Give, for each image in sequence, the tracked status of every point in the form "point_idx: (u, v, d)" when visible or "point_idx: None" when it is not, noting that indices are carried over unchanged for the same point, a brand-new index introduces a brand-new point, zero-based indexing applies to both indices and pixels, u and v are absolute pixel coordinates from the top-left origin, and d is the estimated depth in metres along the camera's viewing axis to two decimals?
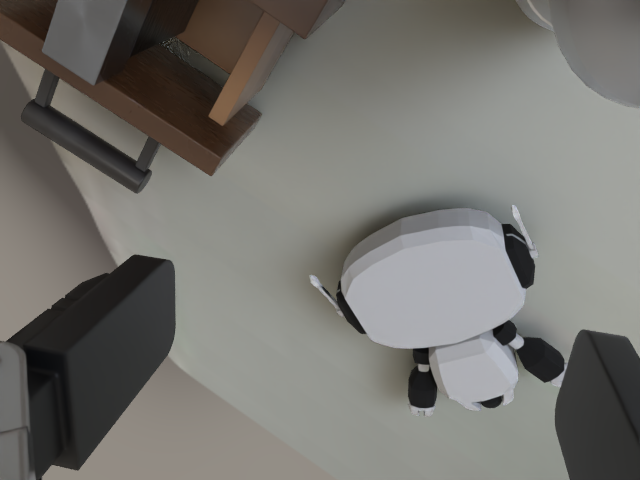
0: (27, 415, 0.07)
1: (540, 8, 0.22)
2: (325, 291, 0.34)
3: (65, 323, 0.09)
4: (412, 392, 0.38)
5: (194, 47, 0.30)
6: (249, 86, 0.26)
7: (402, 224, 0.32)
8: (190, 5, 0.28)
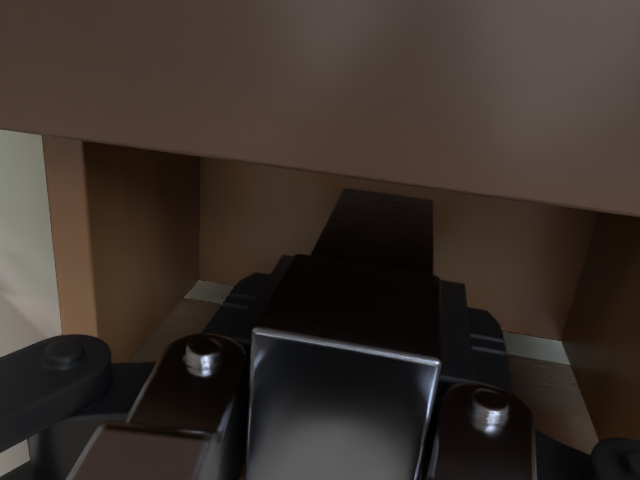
0: (226, 419, 0.07)
1: None
2: None
3: (257, 318, 0.09)
4: None
5: None
6: None
7: None
8: None
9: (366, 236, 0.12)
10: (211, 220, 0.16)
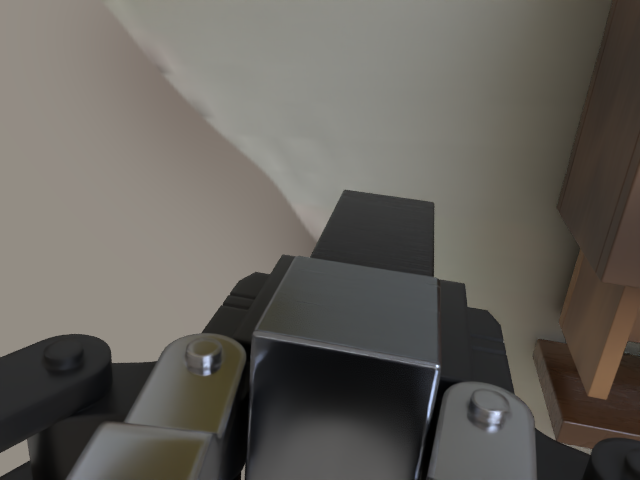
0: (226, 419, 0.07)
1: None
2: None
3: (257, 318, 0.09)
4: None
5: None
6: None
7: None
8: None
9: (367, 238, 0.12)
10: None
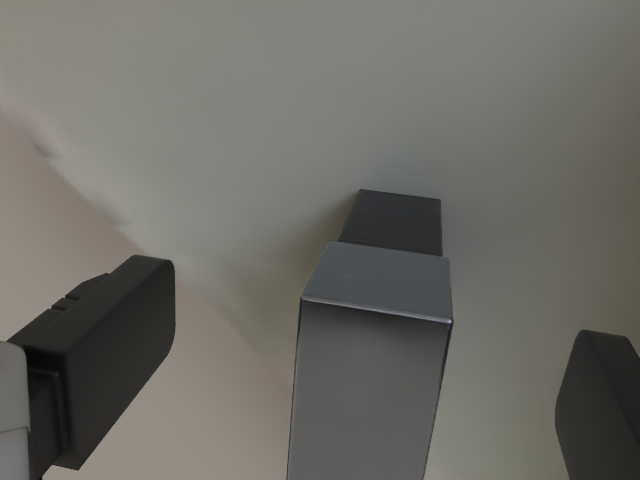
0: (27, 415, 0.07)
1: None
2: None
3: (65, 323, 0.09)
4: None
5: None
6: None
7: None
8: None
9: (383, 229, 0.14)
10: None
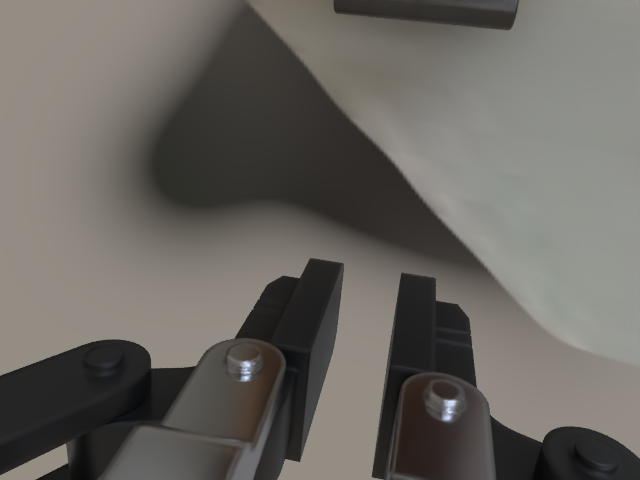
0: (261, 428, 0.07)
1: None
2: None
3: (292, 323, 0.09)
4: None
5: None
6: None
7: None
8: None
9: None
10: None
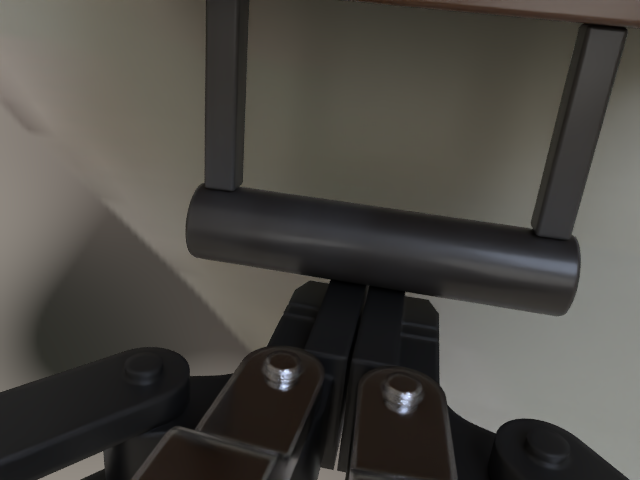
0: (296, 439, 0.07)
1: None
2: None
3: (326, 330, 0.09)
4: None
5: None
6: None
7: None
8: None
9: None
10: None
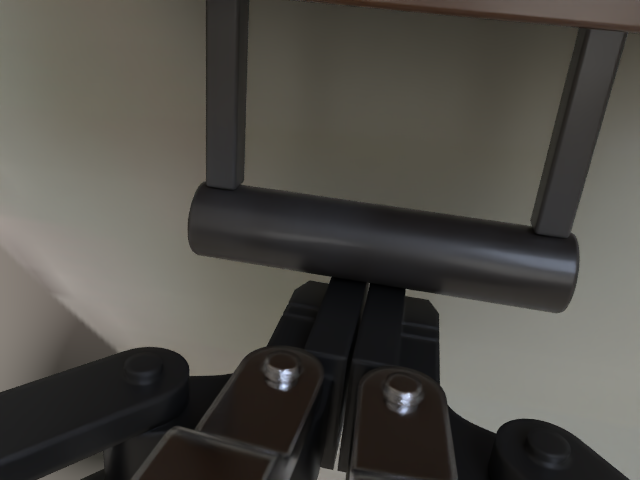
0: (296, 439, 0.07)
1: None
2: None
3: (325, 330, 0.09)
4: None
5: None
6: None
7: None
8: None
9: None
10: None
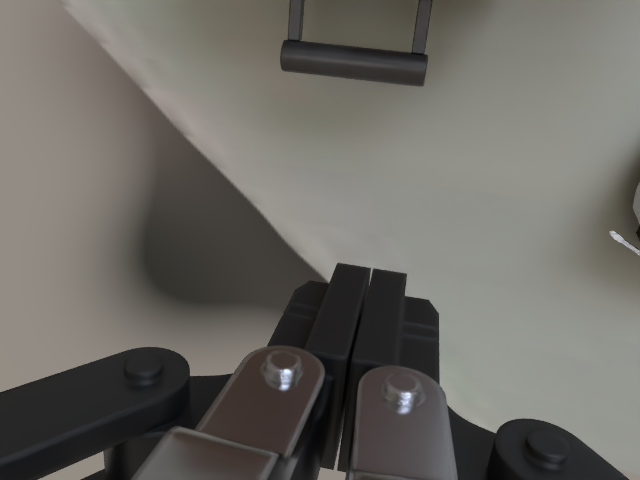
0: (296, 439, 0.07)
1: None
2: (631, 244, 0.30)
3: (326, 330, 0.09)
4: None
5: None
6: None
7: None
8: None
9: None
10: None
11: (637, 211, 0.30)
